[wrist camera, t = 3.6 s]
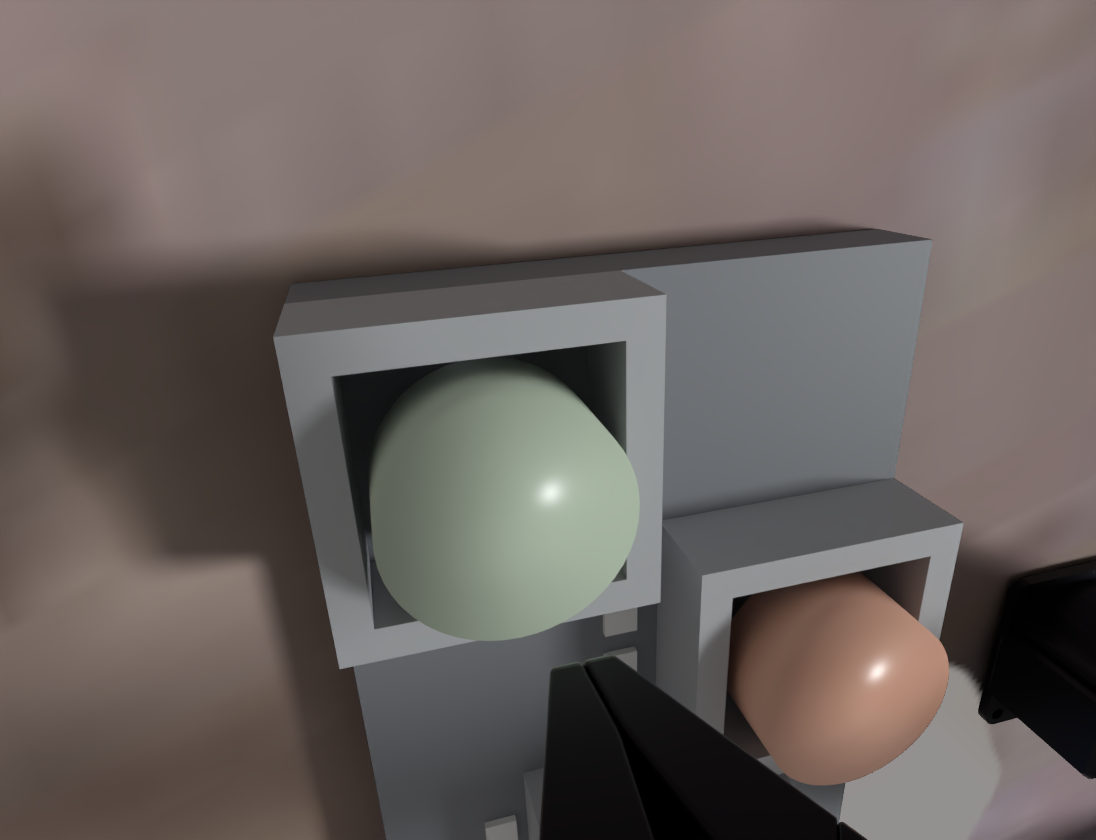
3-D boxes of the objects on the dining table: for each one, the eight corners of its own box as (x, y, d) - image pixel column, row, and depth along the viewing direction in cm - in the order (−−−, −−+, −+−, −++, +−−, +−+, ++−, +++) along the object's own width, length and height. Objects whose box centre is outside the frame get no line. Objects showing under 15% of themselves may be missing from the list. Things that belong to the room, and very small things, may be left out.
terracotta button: (891, 547, 19) (965, 604, 17) (867, 689, 21) (931, 758, 18) (723, 581, 18) (778, 647, 16) (714, 728, 20) (762, 806, 17)
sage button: (595, 343, 15) (640, 383, 12) (598, 546, 16) (639, 612, 14) (350, 372, 13) (352, 422, 11) (384, 586, 15) (391, 664, 13)
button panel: (877, 228, 19) (1019, 255, 15) (803, 793, 27) (883, 908, 23) (290, 284, 16) (273, 337, 12) (405, 906, 24) (418, 1063, 20)
